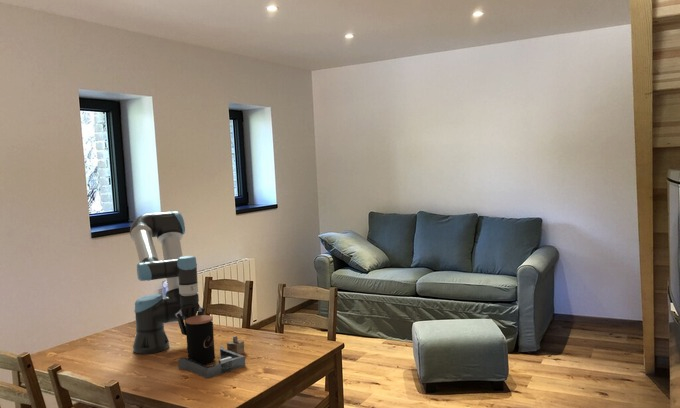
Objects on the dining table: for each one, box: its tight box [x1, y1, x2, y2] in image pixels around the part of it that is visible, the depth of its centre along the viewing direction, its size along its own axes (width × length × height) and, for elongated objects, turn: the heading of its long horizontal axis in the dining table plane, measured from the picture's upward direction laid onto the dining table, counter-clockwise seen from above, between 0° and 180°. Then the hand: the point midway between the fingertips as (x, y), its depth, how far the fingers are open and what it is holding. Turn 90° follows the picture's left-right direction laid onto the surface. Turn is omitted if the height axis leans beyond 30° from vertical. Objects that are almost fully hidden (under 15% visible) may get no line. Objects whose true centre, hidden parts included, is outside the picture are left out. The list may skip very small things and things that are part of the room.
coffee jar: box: [185, 314, 216, 366], centre depth 229 cm, size 11×11×18 cm
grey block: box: [226, 335, 245, 355], centre depth 238 cm, size 5×5×7 cm
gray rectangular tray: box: [177, 345, 246, 380], centre depth 223 cm, size 19×21×5 cm
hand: (192, 350), depth 234 cm, fingers closed
